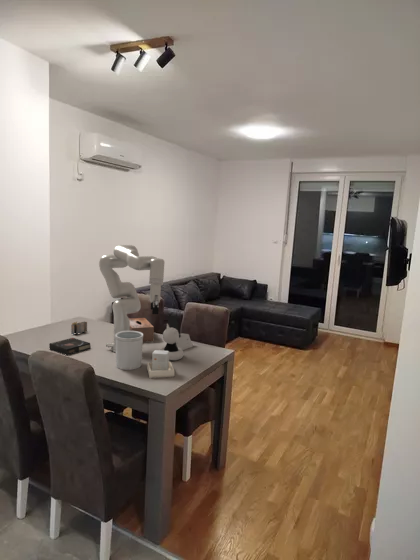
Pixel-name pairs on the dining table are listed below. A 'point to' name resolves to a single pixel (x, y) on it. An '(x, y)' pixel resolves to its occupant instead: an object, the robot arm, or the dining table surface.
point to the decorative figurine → (172, 343)
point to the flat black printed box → (69, 346)
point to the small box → (160, 360)
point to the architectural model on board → (78, 327)
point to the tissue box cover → (142, 328)
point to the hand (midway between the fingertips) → (154, 311)
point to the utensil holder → (129, 349)
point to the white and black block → (184, 342)
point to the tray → (160, 372)
